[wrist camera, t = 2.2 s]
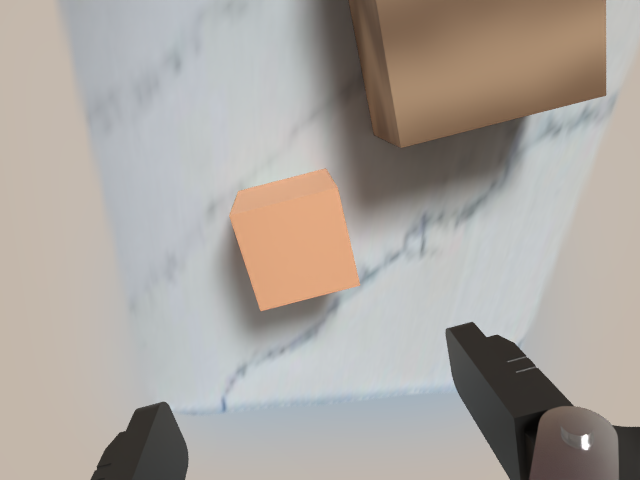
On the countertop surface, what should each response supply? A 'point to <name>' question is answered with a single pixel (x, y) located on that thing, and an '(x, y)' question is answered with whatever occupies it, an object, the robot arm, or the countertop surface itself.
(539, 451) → the robot arm
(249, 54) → the countertop surface
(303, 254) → the block
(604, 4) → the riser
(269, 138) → the countertop surface
